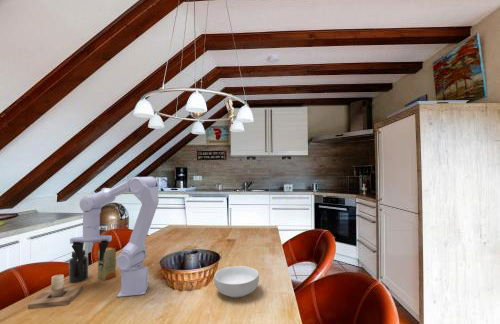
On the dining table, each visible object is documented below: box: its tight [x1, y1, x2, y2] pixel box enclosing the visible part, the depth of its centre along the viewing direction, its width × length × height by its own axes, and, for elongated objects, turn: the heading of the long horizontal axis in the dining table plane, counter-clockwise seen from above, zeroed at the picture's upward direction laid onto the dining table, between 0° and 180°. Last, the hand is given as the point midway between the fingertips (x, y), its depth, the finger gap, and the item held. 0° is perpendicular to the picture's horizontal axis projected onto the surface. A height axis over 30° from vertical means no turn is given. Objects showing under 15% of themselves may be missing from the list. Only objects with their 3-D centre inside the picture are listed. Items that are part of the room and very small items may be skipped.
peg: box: [50, 273, 65, 298], centre depth 94 cm, size 4×4×8 cm
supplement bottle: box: [68, 249, 89, 284], centre depth 111 cm, size 7×7×12 cm
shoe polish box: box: [97, 246, 117, 282], centre depth 113 cm, size 5×5×12 cm
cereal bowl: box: [213, 265, 260, 299], centre depth 97 cm, size 17×17×7 cm
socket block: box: [27, 285, 84, 310], centre depth 94 cm, size 12×12×2 cm
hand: (91, 260), depth 104 cm, fingers open, 7 cm apart
